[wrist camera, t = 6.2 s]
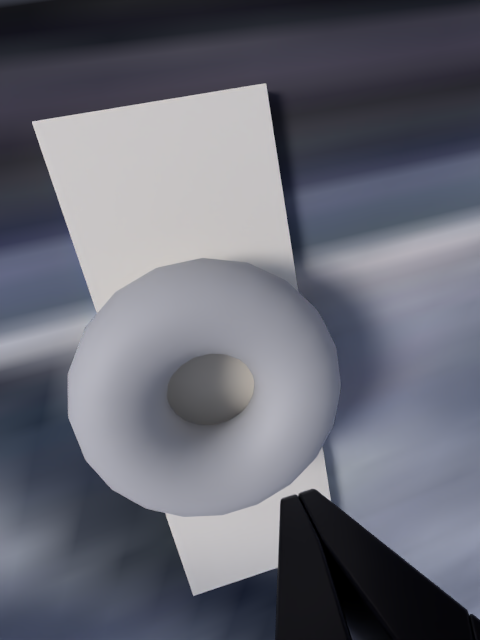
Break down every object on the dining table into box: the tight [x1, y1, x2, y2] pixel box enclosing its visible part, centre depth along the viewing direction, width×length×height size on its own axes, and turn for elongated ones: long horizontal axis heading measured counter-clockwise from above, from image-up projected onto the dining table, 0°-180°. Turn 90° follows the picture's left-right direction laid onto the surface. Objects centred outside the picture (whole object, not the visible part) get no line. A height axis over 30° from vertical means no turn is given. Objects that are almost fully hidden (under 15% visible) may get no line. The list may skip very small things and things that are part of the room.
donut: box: [68, 258, 341, 517], centre depth 12 cm, size 10×4×10 cm
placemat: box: [32, 83, 331, 596], centre depth 14 cm, size 8×22×1 cm, turn 12°
